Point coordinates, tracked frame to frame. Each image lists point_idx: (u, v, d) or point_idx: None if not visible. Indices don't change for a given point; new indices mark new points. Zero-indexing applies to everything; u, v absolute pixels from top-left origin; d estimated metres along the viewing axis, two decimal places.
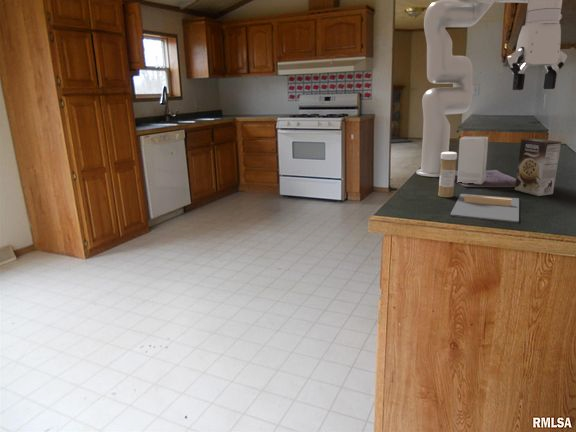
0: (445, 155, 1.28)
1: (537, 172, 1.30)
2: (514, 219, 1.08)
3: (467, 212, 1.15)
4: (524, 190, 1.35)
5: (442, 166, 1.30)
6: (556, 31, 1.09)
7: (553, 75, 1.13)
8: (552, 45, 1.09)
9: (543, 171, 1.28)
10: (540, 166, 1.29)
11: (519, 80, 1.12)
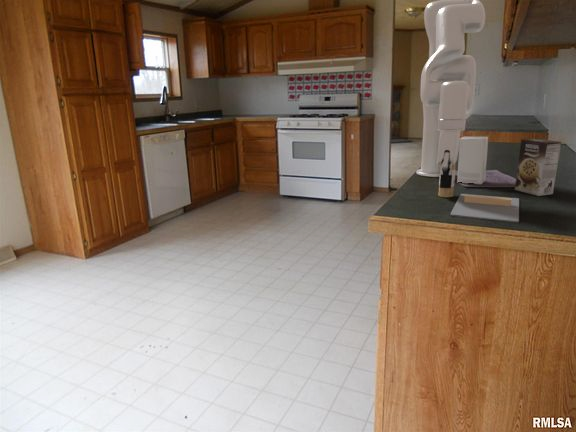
0: None
1: (537, 172, 1.30)
2: (514, 219, 1.08)
3: (467, 212, 1.15)
4: (524, 190, 1.35)
5: None
6: None
7: None
8: None
9: (543, 171, 1.28)
10: (540, 166, 1.29)
11: (448, 180, 1.29)
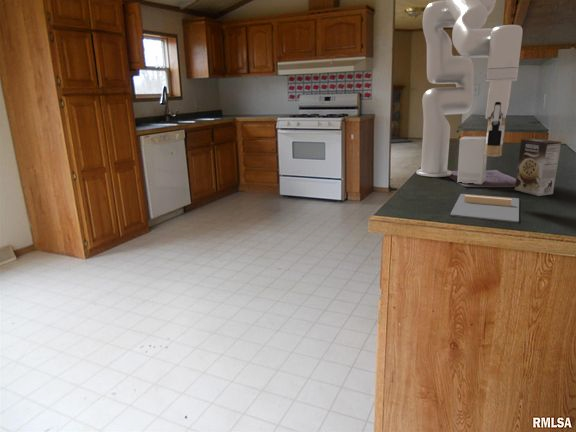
0: None
1: (537, 172, 1.30)
2: (514, 219, 1.08)
3: (467, 212, 1.15)
4: (524, 190, 1.35)
5: (490, 122, 1.19)
6: None
7: None
8: None
9: (543, 171, 1.28)
10: (540, 166, 1.29)
11: (497, 137, 1.18)
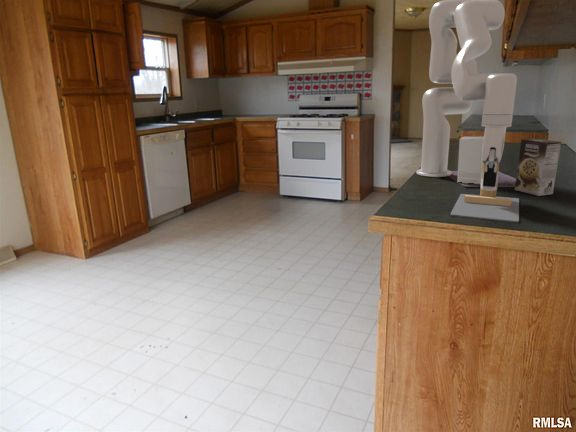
0: (488, 157, 1.20)
1: (537, 172, 1.30)
2: (514, 219, 1.08)
3: (467, 212, 1.15)
4: (524, 190, 1.35)
5: (484, 169, 1.22)
6: None
7: None
8: None
9: (543, 171, 1.28)
10: (540, 166, 1.29)
11: (493, 178, 1.19)
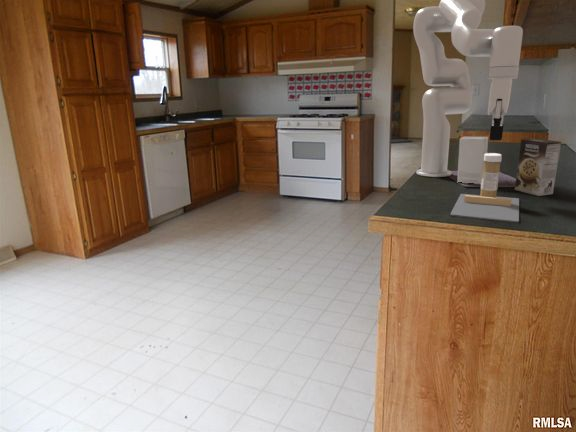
0: (489, 157, 1.21)
1: (537, 172, 1.30)
2: (514, 219, 1.08)
3: (467, 212, 1.15)
4: (524, 190, 1.35)
5: (485, 168, 1.22)
6: None
7: None
8: None
9: (543, 171, 1.28)
10: (540, 166, 1.29)
11: (499, 132, 1.25)
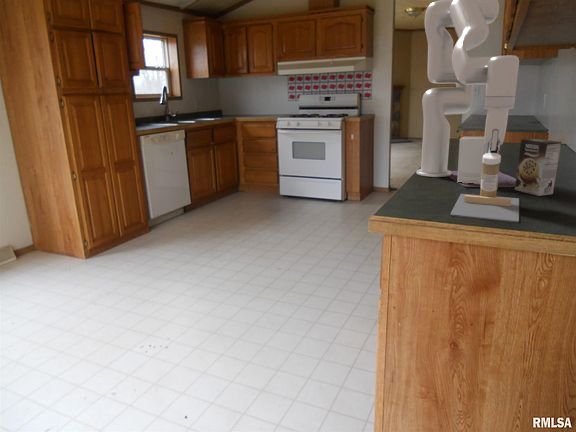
0: (488, 160, 1.18)
1: (537, 172, 1.30)
2: (514, 219, 1.08)
3: (467, 212, 1.15)
4: (524, 190, 1.35)
5: (484, 170, 1.21)
6: None
7: None
8: None
9: (543, 171, 1.28)
10: (540, 166, 1.29)
11: None
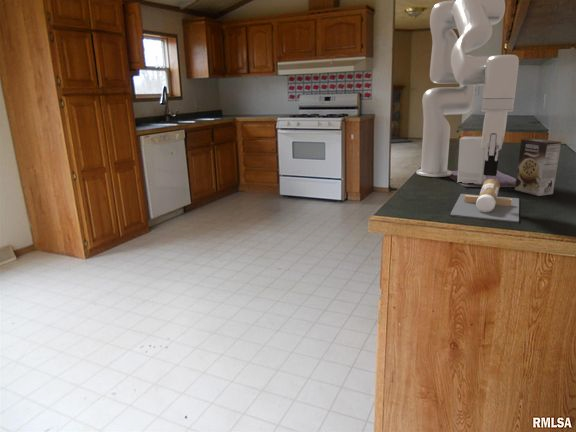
0: None
1: (537, 172, 1.30)
2: (514, 219, 1.08)
3: (467, 212, 1.15)
4: (524, 190, 1.35)
5: None
6: None
7: None
8: None
9: (543, 171, 1.28)
10: (540, 166, 1.29)
11: (494, 167, 1.16)
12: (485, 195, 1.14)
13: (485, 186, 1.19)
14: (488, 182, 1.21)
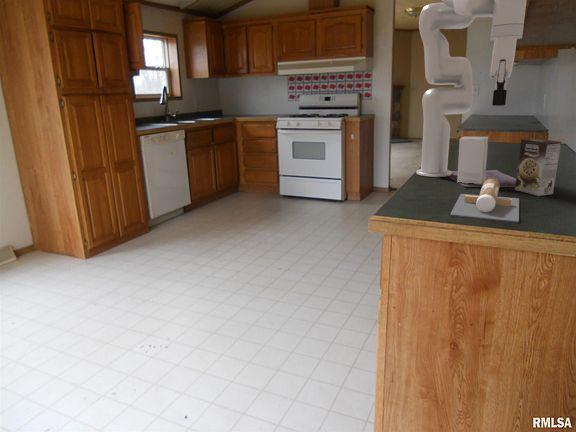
0: None
1: (537, 172, 1.30)
2: (514, 219, 1.08)
3: (467, 212, 1.15)
4: (524, 190, 1.35)
5: None
6: None
7: None
8: None
9: (543, 171, 1.28)
10: (540, 166, 1.29)
11: (502, 96, 1.18)
12: (485, 195, 1.14)
13: (485, 186, 1.19)
14: (488, 182, 1.21)
